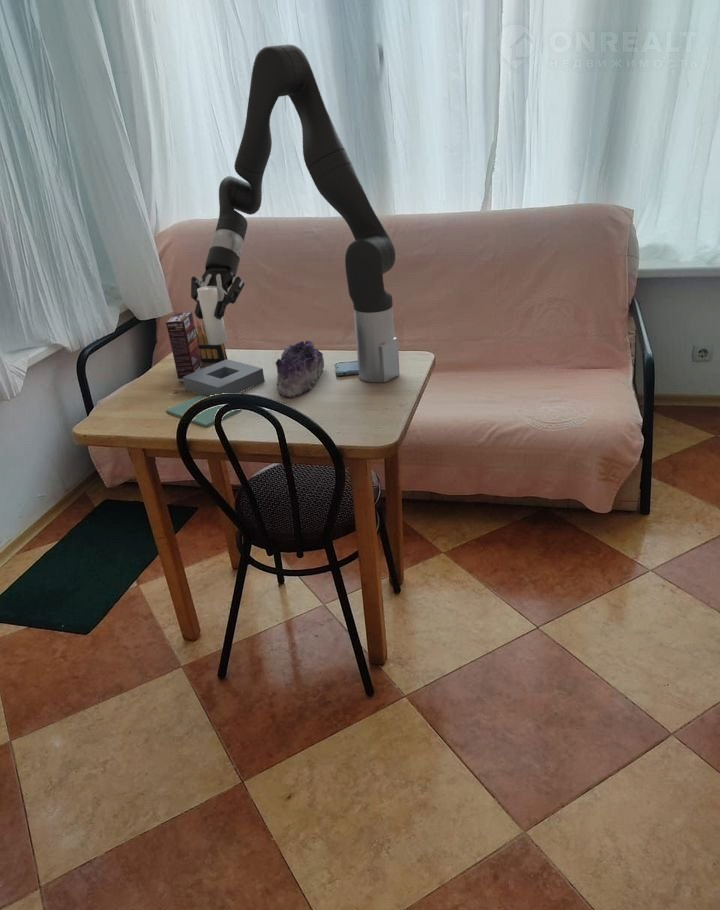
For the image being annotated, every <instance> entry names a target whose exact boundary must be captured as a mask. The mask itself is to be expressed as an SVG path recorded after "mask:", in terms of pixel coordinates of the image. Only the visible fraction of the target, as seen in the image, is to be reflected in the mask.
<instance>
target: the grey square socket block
mask: <svg viewBox="0 0 720 910" xmlns="http://www.w3.org/2000/svg"><path fill="white" fill-rule="evenodd" d="M183 379H184V382H183V384H184V387H185V388H184V389H185V390H186V391H188V392H191V393H194V394H198V395H202V396H205V397H207V396H210V395H215V394H222V393H238V394H240V393H242V392H241V391H243V390H245V391H247V390H249V389H251V388H250V387H252V388H253V386H254V387H256V386H257V385H260V384H263V383H264V382H266V380H265V375H264V368H263V367H258V366H255V365H252V364H248V363H244V362H243V363H242V362H239V361H235V360H231V359H229V358H227V359H226V360H223V361H221V362H218V363H213V364H211V365H208V366H206V367H203V369H201V370H199V371H196V372H194V373H191V374H189V375H186V376H184V377H183ZM248 388H249V389H248ZM246 389H247V390H246ZM243 392H244V391H243Z"/></svg>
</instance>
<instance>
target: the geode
mask: <svg viewBox="0 0 720 910" xmlns="http://www.w3.org/2000/svg"><path fill="white" fill-rule="evenodd" d="M323 356H324V355H323V353H322V352H321V351H319V349H317V348H315V343H314V342H312V341H310V340H305V342H304V341H299V342H297V343H295V344H293V345H292V344H287V345H286V347H285V348H284V350H283V351H282V353H281V356H280V357H281V358H278V359H277V360H276V361H275V365H276V372H277V382H276V386H277V388H278V392H277V393H278V395H279V397H281V396H282V398H284V399H289V400H293V399H296V398H298V397H301V396H303V395H305V394H308V393H309V392H310V391H311V390H312V388H313V387H314V385H315V384H316V382H317V381H318V379H320V376H321V374H322V373H323V369H325V359H324V357H323Z"/></svg>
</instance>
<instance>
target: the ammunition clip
mask: <svg viewBox="0 0 720 910" xmlns="http://www.w3.org/2000/svg"><path fill="white" fill-rule="evenodd" d="M199 320H200V319H199V318H197V319H196V325H195V323H194V326H195V331H196V336H197V340H198V345H199V350H200V355H201V360H202V364H203V363H206V364H212V363H213V364H216V363H218V362H221V361H223V360H226V359H228V356H227V351H226V346H225V343H223V344H219V345H210V344H208V340H207V335H206V330H205V325H204V321H203V320H202V325H201V322H200V321H199Z"/></svg>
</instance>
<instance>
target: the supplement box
mask: <svg viewBox="0 0 720 910" xmlns="http://www.w3.org/2000/svg"><path fill="white" fill-rule="evenodd" d="M165 324H166V325H165V326H166V329H167V332H168V333H167V334H168V339H169V343H170V347H171V351H172V355H173V356H172V357H173V360H174V365H175V370H176V374H177V375H176V376H177V379H178V382H180V383H181V382H183V383H184V379H183V377H184V376H186V375H189V374H191V373H194V372H196V371H199V370H201V369H203V368H204V366H203V363H202V360H201V355H200V350H199V345H198V340H197V336H196V331H197V330H196V331H195V327H196V325H195V326H194V324H195V321H194V316H193V312H192V311H191V312H189V311H186V312H175V313H174V315H173V316H171V318H170V319H168V320H167V321H166V323H165Z"/></svg>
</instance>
